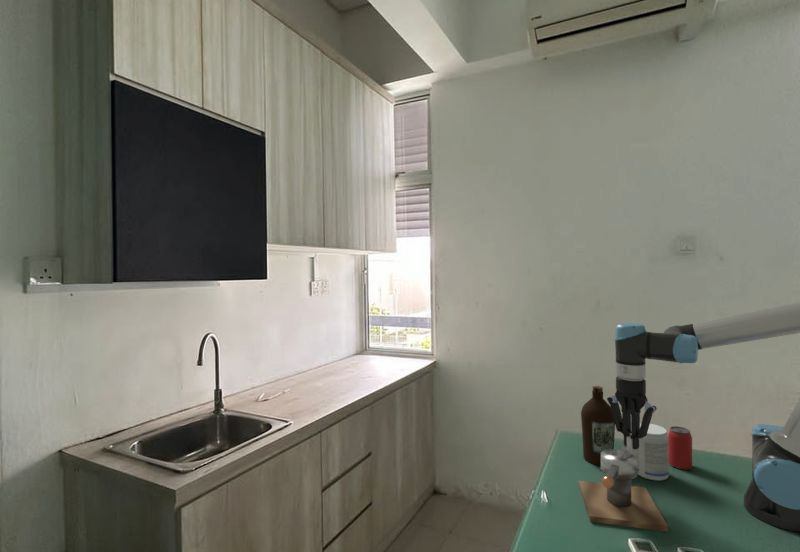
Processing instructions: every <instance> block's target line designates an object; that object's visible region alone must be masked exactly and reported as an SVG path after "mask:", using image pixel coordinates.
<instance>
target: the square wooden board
mask: <svg viewBox="0 0 800 552" xmlns="http://www.w3.org/2000/svg"><path fill="white" fill-rule="evenodd" d="M578 487H579V490H580V493H581V497H582V501H583V504H584V507H585V510H586V513H587V516H588V519H589V523H597V524H607V525H612V526H621V527H629V528H630V527H631V528H637V529H645V530H653V531H661V532H669V531H668V530H669V528H668V527H669V525H668V524H667V522H666V521H665V518H664V517H663V515H662V514H661V511H659V508H658V507H657V505H656V504H655V501H654V500H653V498H652V497H651V495H650V493H649V492H648V489H646V487H645V486H634V485H632V479H619V478H616V480H615V482H614V486H613V487H612V488H606V487H604V486H603V484H602V482H595V481H588V480H587V481H586V480H578Z"/></svg>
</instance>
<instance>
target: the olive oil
mask: <svg viewBox="0 0 800 552" xmlns="http://www.w3.org/2000/svg"><path fill="white" fill-rule="evenodd" d="M603 390H604V388H603V387H602V386H600V385H593V386H592V392H591V394H592V395H591V398H590V399H589V400H587V402H585V403H584V405H582V408H581V411H580V417H581V418H580V420H581V433H582V435H581V436H582V453H583V454H582V455H583V459H584V460H585V461H587V462H588V463H590V464H593V465H595V466H597V465H598V466H601V452H602V451H604V450H608V449H615V430H616V425H615V421H614V417H613V413H612V409H611V405H610V404H609V402H608V401H607V400H606V399H604V391H603Z"/></svg>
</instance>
